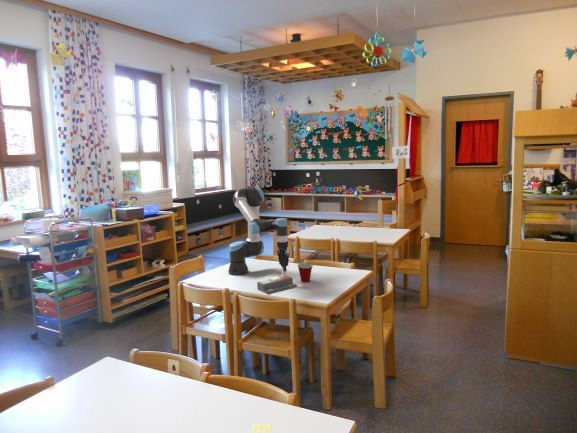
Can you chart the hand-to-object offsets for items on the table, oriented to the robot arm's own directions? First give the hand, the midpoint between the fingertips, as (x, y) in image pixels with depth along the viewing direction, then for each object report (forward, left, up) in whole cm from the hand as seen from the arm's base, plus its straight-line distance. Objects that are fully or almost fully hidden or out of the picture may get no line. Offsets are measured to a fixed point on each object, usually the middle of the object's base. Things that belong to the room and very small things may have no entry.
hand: (284, 275), depth 297 cm
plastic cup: (+3, +16, -7) cm, 17 cm away
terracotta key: (0, 0, -4) cm, 4 cm away
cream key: (0, -7, -4) cm, 8 cm away
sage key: (0, -15, -4) cm, 15 cm away
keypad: (+2, -7, -7) cm, 10 cm away
